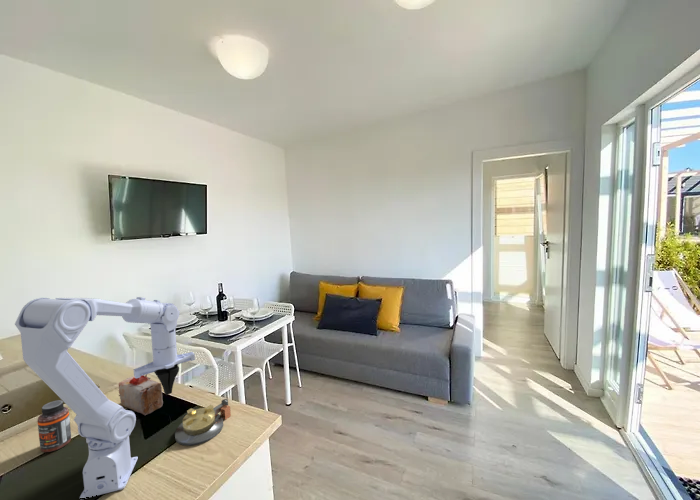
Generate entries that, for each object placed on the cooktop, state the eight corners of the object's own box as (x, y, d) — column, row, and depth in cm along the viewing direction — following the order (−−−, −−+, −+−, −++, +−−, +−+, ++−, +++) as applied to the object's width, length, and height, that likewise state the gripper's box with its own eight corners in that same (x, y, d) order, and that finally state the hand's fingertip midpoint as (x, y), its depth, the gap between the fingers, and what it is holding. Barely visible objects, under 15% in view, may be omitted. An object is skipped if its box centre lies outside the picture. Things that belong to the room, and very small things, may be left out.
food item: (115, 407, 97) (113, 377, 96) (141, 394, 104) (139, 366, 103) (142, 418, 91) (139, 386, 90) (168, 404, 98) (165, 374, 97)
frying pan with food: (195, 451, 77) (194, 440, 77) (165, 437, 82) (164, 427, 82) (238, 418, 90) (237, 408, 90) (209, 408, 95) (209, 399, 95)
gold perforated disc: (195, 439, 79) (194, 426, 79) (175, 429, 83) (174, 417, 83) (237, 410, 91) (236, 399, 91) (218, 403, 95) (217, 392, 95)
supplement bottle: (34, 456, 77) (29, 413, 76) (49, 440, 82) (45, 400, 81) (63, 450, 78) (58, 408, 77) (76, 435, 84) (72, 396, 83)
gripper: (136, 358, 76) (140, 410, 77) (197, 341, 87) (200, 387, 88) (130, 350, 81) (134, 399, 82) (188, 335, 92) (191, 379, 93)
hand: (168, 392), depth 85 cm, fingers closed
